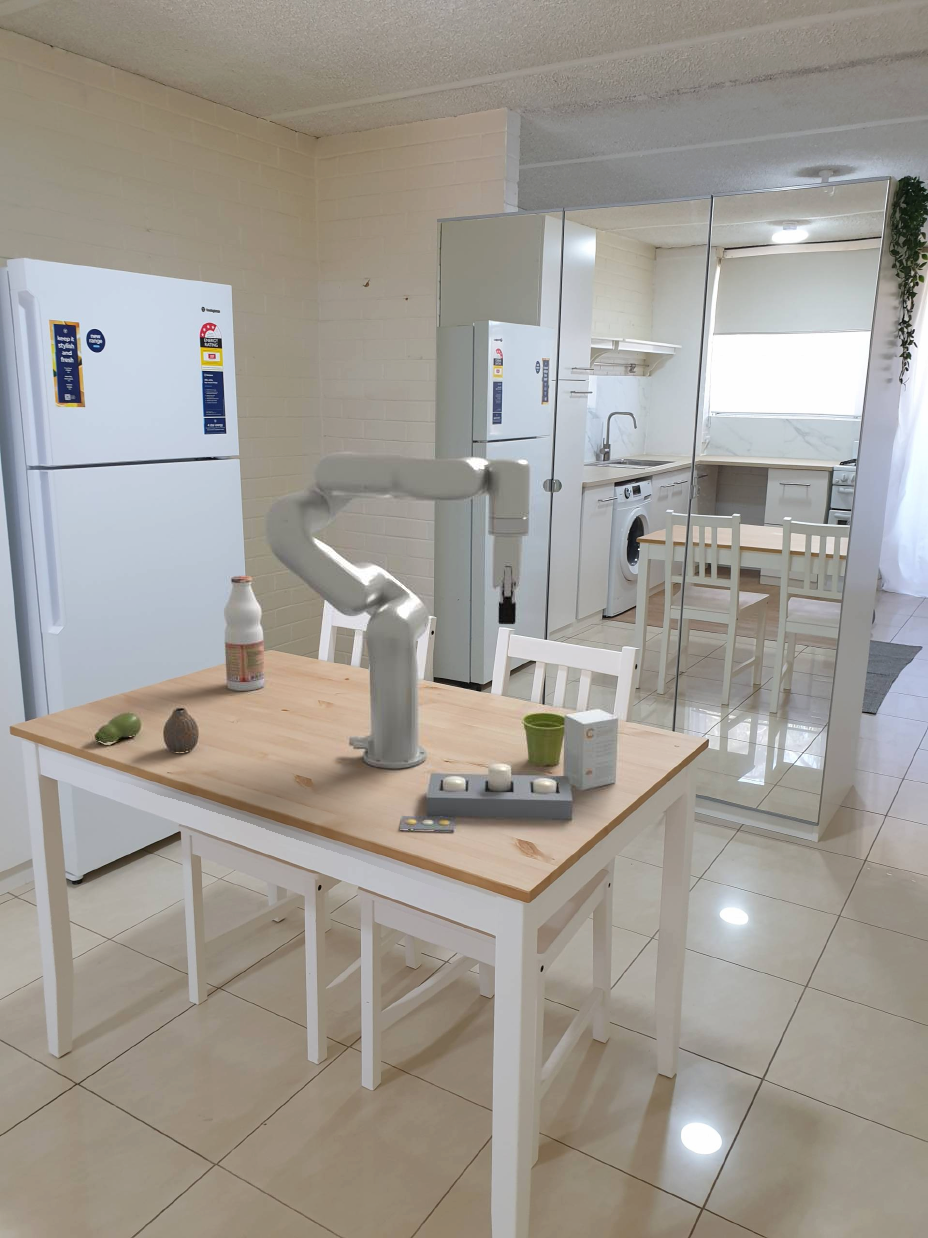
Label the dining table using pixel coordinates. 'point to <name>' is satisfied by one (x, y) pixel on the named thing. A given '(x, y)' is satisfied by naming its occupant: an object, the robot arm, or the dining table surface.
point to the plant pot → (544, 737)
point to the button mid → (499, 777)
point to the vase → (180, 731)
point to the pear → (119, 728)
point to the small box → (590, 748)
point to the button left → (454, 784)
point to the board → (499, 798)
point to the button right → (544, 786)
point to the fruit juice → (243, 638)
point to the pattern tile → (428, 823)
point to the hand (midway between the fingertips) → (506, 622)
